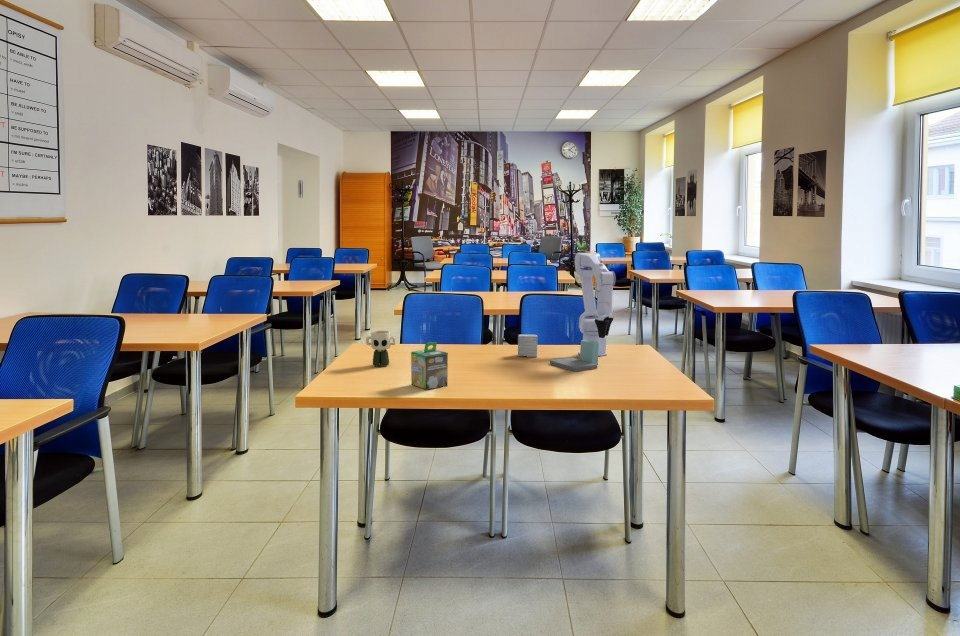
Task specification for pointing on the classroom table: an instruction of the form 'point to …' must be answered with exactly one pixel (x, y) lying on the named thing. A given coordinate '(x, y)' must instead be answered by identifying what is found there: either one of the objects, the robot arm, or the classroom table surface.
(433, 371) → the chalk box
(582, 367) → the rubber pad
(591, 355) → the teal slab
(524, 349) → the medicine box
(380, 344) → the character mug
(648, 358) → the classroom table surface
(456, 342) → the classroom table surface
